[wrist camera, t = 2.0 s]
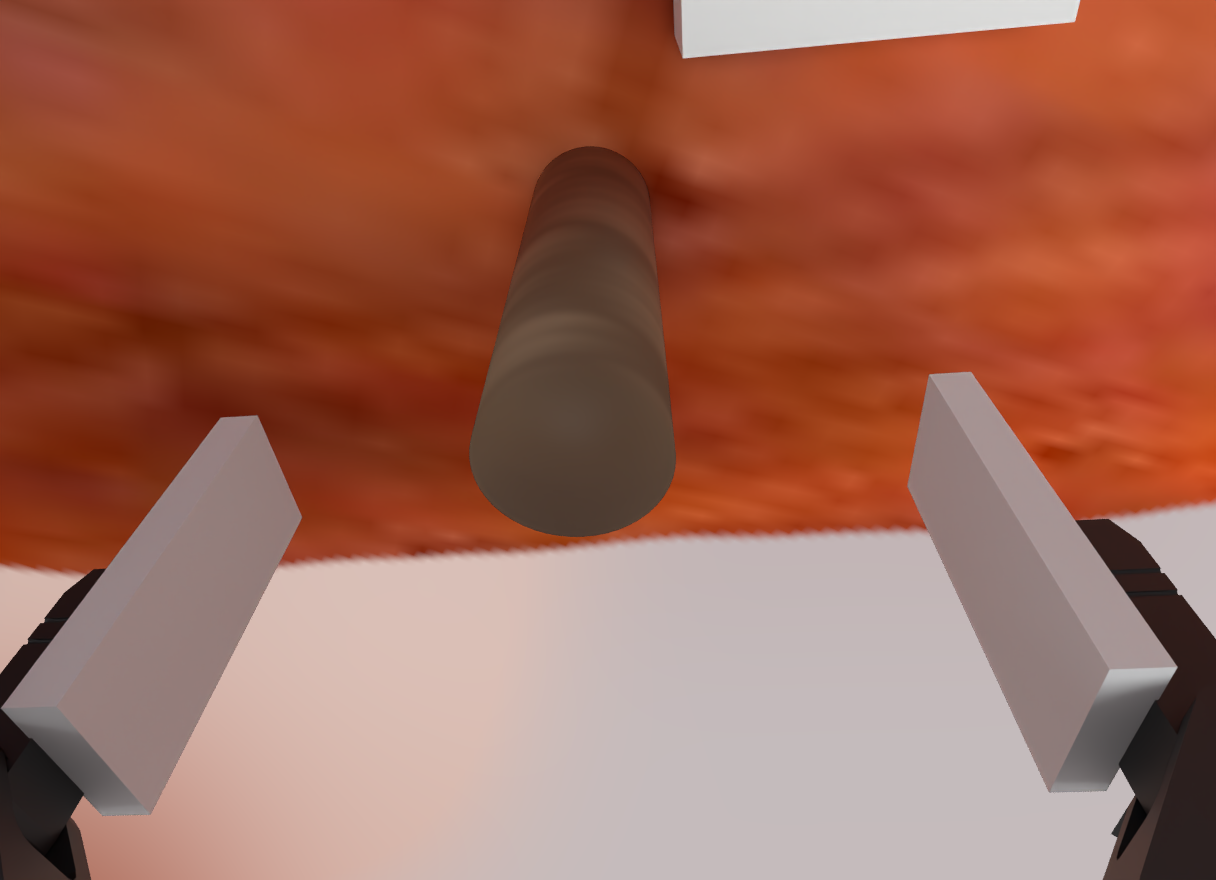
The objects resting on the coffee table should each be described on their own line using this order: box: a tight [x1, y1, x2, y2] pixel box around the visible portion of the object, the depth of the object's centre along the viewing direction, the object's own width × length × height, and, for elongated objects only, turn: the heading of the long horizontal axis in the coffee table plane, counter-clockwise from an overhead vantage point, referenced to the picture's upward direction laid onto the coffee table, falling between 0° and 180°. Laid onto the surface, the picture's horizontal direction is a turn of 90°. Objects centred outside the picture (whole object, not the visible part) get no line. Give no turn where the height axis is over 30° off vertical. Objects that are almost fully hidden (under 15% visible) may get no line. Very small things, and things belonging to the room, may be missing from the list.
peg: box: [469, 147, 676, 537], centre depth 20 cm, size 4×4×14 cm
